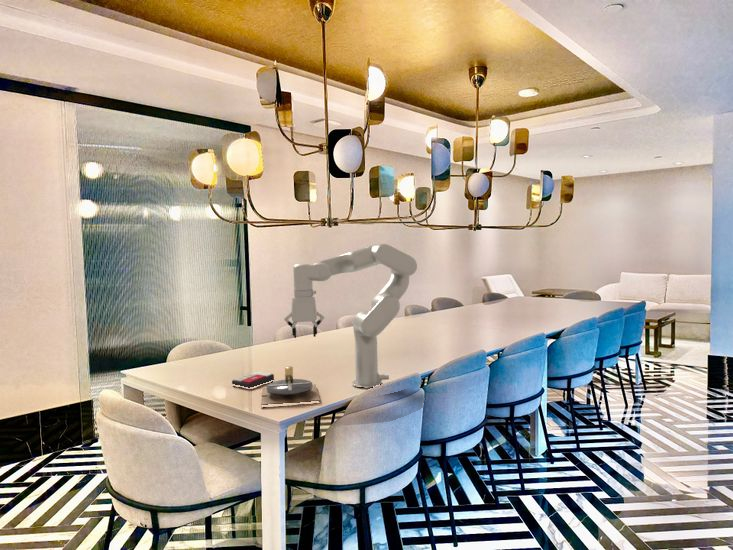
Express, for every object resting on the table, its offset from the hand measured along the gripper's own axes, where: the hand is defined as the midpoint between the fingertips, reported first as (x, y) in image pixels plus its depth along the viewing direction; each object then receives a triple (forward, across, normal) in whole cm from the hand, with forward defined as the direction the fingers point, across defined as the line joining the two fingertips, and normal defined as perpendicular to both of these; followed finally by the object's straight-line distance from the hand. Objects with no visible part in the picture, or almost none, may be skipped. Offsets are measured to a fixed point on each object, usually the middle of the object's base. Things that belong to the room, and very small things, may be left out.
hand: (304, 336), depth 209 cm
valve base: (+23, +7, +7) cm, 25 cm away
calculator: (+24, +22, -17) cm, 37 cm away
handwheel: (+21, +7, +7) cm, 23 cm away
